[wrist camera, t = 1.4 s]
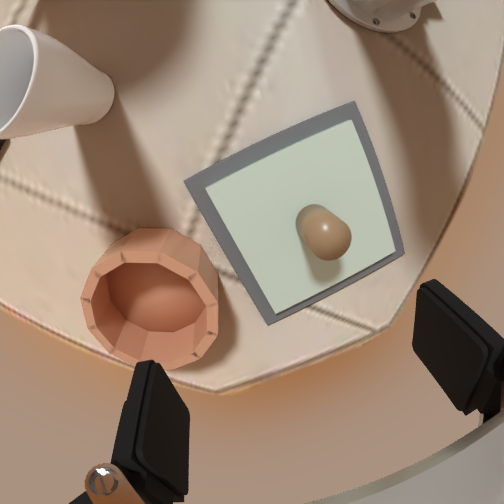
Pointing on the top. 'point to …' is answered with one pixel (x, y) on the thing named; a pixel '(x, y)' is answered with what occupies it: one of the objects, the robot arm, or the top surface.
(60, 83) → the drinking glass
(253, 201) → the cover sheet
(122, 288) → the bowl
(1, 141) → the smart home device
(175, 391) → the robot arm
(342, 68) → the top surface
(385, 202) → the mat
